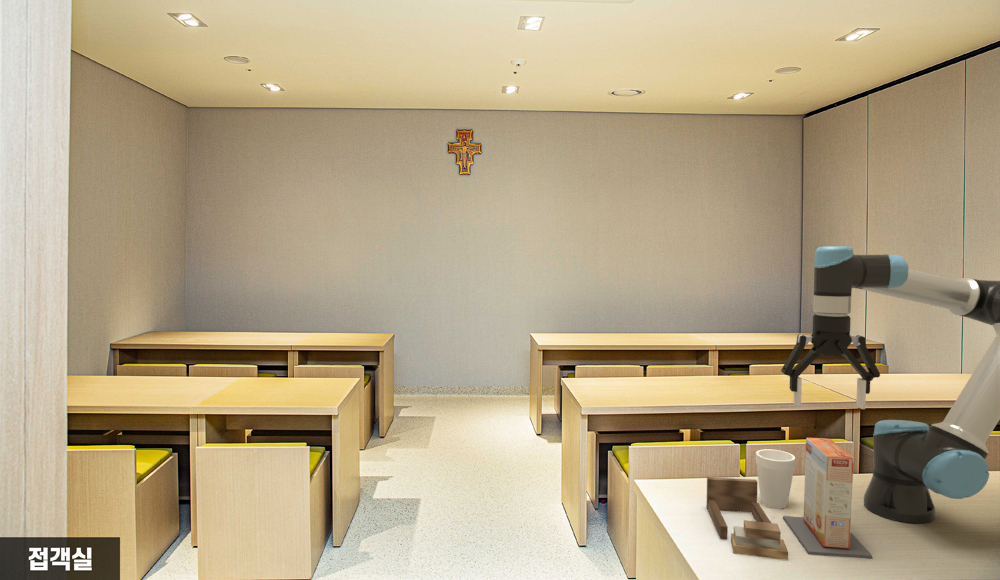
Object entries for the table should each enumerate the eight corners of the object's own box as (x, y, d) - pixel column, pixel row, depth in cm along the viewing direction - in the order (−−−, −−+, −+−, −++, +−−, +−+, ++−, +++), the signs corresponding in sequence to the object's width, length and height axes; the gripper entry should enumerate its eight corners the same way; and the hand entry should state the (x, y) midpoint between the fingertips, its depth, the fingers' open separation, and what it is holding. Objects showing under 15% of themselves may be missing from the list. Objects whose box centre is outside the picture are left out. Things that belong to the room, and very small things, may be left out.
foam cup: (793, 500, 161) (795, 452, 160) (794, 513, 153) (796, 463, 152) (755, 494, 165) (756, 447, 164) (753, 507, 157) (755, 458, 156)
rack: (755, 510, 155) (755, 479, 154) (775, 542, 138) (776, 508, 137) (706, 507, 157) (707, 477, 156) (720, 538, 139) (721, 505, 139)
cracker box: (852, 550, 133) (855, 457, 131) (822, 548, 134) (825, 455, 132) (829, 522, 146) (831, 437, 145) (802, 520, 147) (804, 436, 146)
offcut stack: (783, 548, 136) (783, 522, 135) (788, 561, 130) (788, 534, 129) (730, 541, 139) (731, 516, 138) (733, 554, 133) (734, 527, 132)
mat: (838, 521, 148) (838, 519, 148) (872, 558, 130) (872, 555, 130) (782, 518, 150) (782, 515, 150) (808, 554, 132) (808, 551, 132)
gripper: (883, 313, 139) (879, 404, 140) (768, 312, 142) (766, 400, 144) (899, 316, 131) (896, 412, 133) (778, 315, 135) (776, 408, 136)
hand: (828, 406), depth 138 cm, fingers open, 13 cm apart
